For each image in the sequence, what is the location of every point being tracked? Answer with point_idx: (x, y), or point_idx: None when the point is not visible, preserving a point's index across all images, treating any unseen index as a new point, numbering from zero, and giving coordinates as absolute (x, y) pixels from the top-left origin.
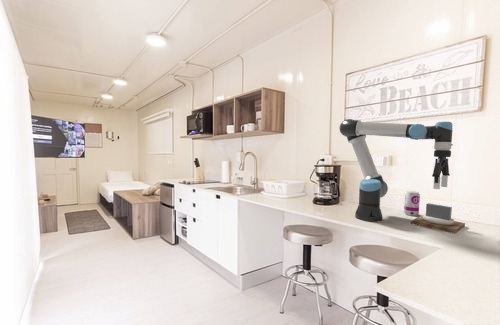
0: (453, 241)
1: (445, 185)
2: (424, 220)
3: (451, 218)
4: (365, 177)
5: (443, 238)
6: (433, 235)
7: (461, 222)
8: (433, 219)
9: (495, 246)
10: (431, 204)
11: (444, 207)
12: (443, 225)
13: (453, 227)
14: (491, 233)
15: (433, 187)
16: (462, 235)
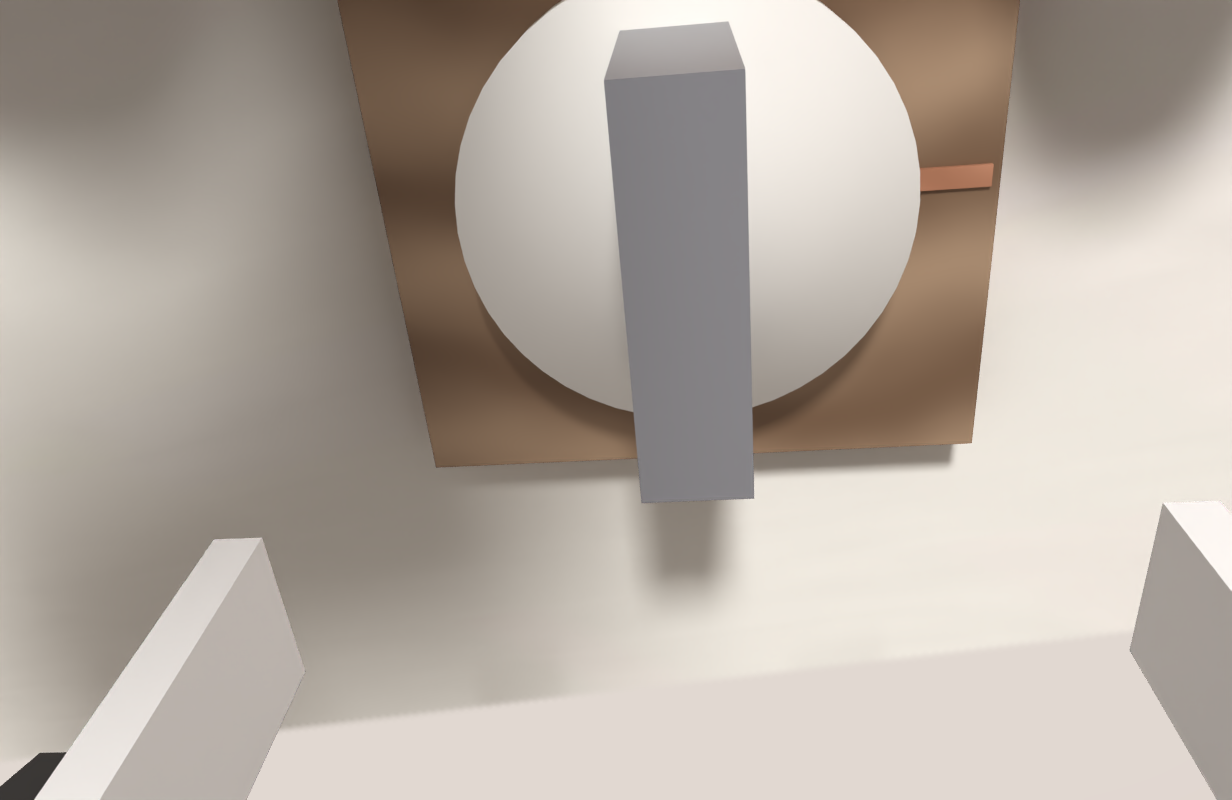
0: (120, 507)
1: (1166, 663)
2: None
3: (832, 358)
4: None
5: (110, 425)
6: (98, 328)
7: (965, 408)
8: (462, 223)
9: (368, 719)
10: (641, 181)
11: (636, 413)
12: None
13: (531, 426)
14: (856, 638)
15: (194, 569)
16: (452, 501)
